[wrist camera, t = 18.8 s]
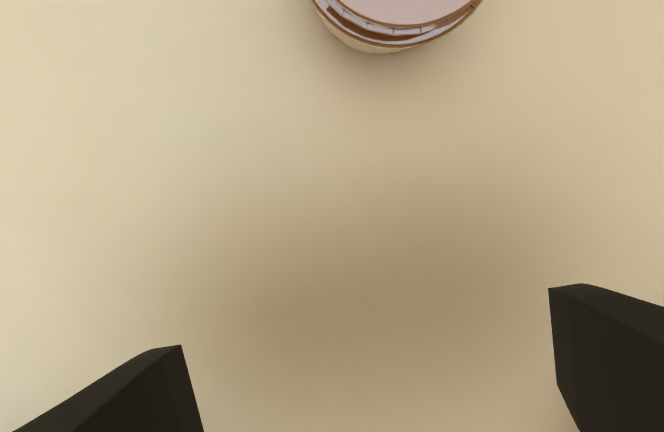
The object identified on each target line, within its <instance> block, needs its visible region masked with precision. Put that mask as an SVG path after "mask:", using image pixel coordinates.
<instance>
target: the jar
mask: <svg viewBox="0 0 664 432" xmlns="http://www.w3.org/2000/svg"><path fill="white" fill-rule="evenodd" d="M310 1H311V2H312V4H313V6H314V8H315V9H316V11H317V13H318V15H319V16H320V18H321V20H322V21H323V23H324V24H325V26H326V27H327V28H328V30H329V31H330V32H331V33H332V34H333V35H334V36H335V37H336V38H338V39H339V40H340V41H341V42H343V43H345V44H346V45H348V46H350V47H352V48H354V49H356V50H359V51H363V52H367V53H373V54H386V53H393V52H397V51H401V50H404V49H408V48H412V47H415V46H419V45H422V44H426V43H429V42H431V41H434V40H436V39H438V38H440V37H442V36H444V35H446V34H448V33H449V32H451V31H452V30H454V29H455V28H457V27H458V26H459V25H461V24H462V23H463V22H464V21H465V20H466V19H467V18H468V17H469V16H470V15H471V14H472V13H473V12H474V11H475V10H476V9H477V7H478V6H479V5H480V4H481V2H482V1H483V0H310Z"/></svg>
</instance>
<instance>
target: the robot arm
mask: <svg viewBox="0 0 664 432" xmlns="http://www.w3.org/2000/svg"><path fill="white" fill-rule="evenodd" d="M548 292H549V303H550V314H551V325H552V335H553V346H554V357H555V368H556V379H557V385H558V388H559V390H560V392H561V394H562V396H563V398H564V400H565V403H566V405H567V407H568V409H569V411H570V413H571V415H572V417H573V419H574V421H575V423H576V425H577V427H578V429H579V430H580V432H664V307H662V306H659V305H655V304H652V303H649V302H646V301H643V300H640V299H636V298H633V297H630V296H627V295H624V294H621V293H618V292H614V291H611V290H608V289H604V288H601V287H597V286H593V285H589V284H582V283H580V284H574V285H567V286H561V287H554V288H548ZM13 432H204V430H203V426H202V422H201V418H200V415H199V411H198V407H197V403H196V399H195V396H194V392H193V388H192V384H191V380H190V377H189V373H188V369H187V365H186V361H185V358H184V354H183V350H182V346H181V345H175V346H168V347H162V348H155V349H151V350H148V351H146V352H143V353H141V354H139V355H138V356H136V357H134V358H132V359H130V360H129V361H127V362H125V363H124V364H122V365H120V366H119V367H117V368H116V369H114V370H113V371H111V372H109V373H108V374H106V375H105V376H103V377H102V378H100V379H98V380H97V381H95V382H94V383H92V384H91V385H89V386H88V387H86V388H84V389H83V390H81V391H80V392H78V393H77V394H75V395H73V396H72V397H70V398H69V399H67V400H65V401H64V402H62V403H60V404H59V405H57V406H55V407H54V408H52V409H50V410H49V411H47V412H45V413H44V414H42V415H40V416H39V417H37V418H35V419H34V420H32V421H30V422H29V423H27V424H25V425H24V426H22V427H20V428H18V429H17V430H15V431H13Z"/></svg>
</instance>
